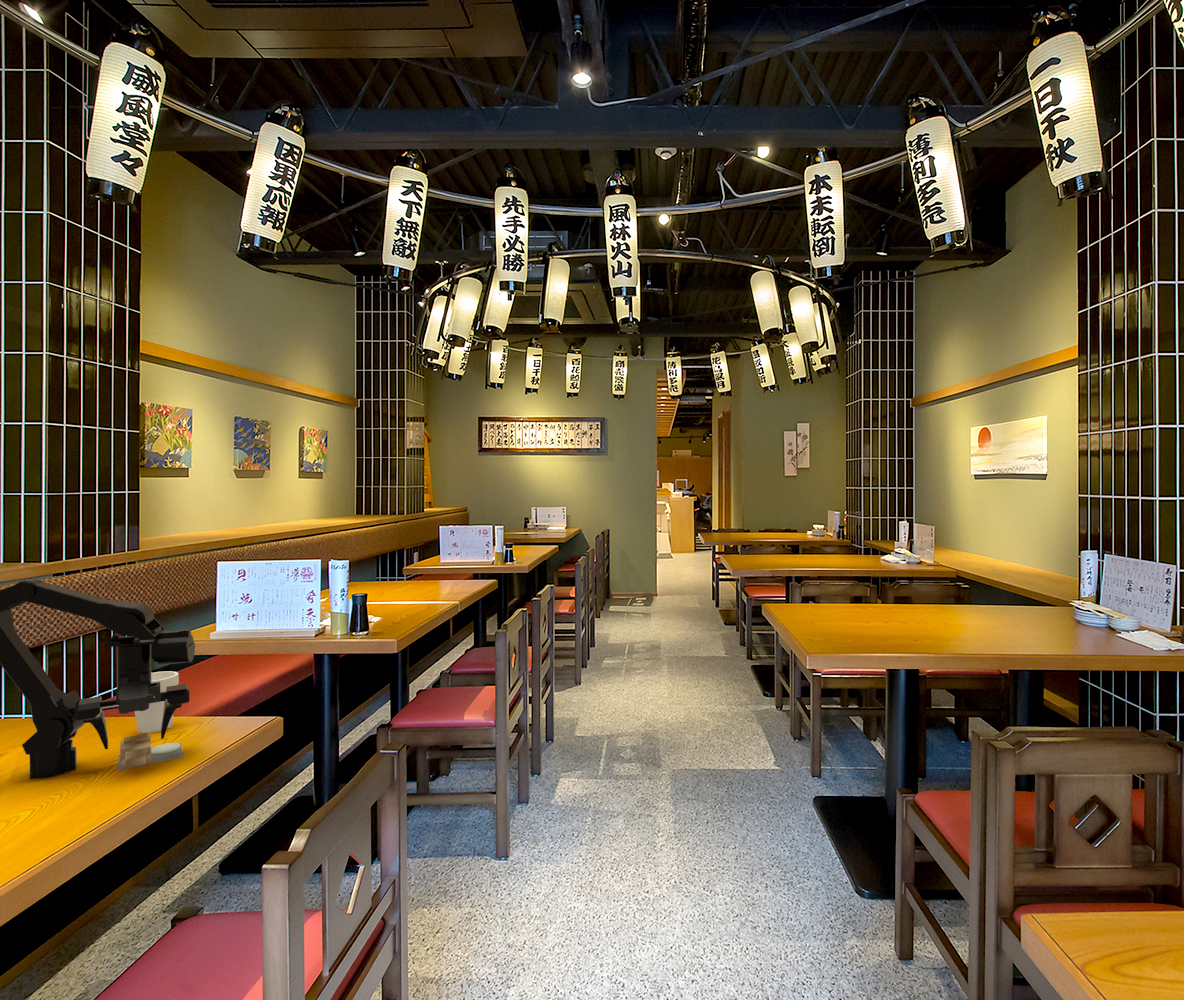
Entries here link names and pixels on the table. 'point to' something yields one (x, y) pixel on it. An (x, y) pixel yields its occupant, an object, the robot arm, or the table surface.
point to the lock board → (162, 754)
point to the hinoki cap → (135, 751)
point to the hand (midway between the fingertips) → (135, 743)
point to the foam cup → (156, 704)
